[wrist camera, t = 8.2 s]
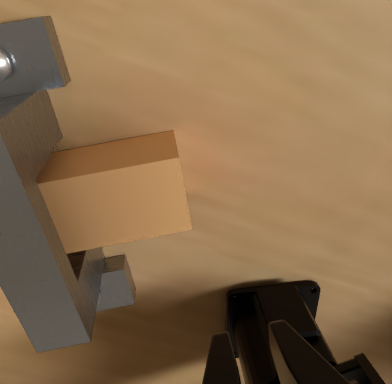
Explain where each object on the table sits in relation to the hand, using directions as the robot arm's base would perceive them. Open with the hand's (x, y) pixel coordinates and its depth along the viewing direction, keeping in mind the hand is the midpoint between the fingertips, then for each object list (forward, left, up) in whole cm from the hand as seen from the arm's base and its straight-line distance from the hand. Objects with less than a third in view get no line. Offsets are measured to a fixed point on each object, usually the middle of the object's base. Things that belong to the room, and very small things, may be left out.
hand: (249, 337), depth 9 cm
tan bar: (-1, +9, -12) cm, 15 cm away
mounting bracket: (-1, +8, -12) cm, 14 cm away
